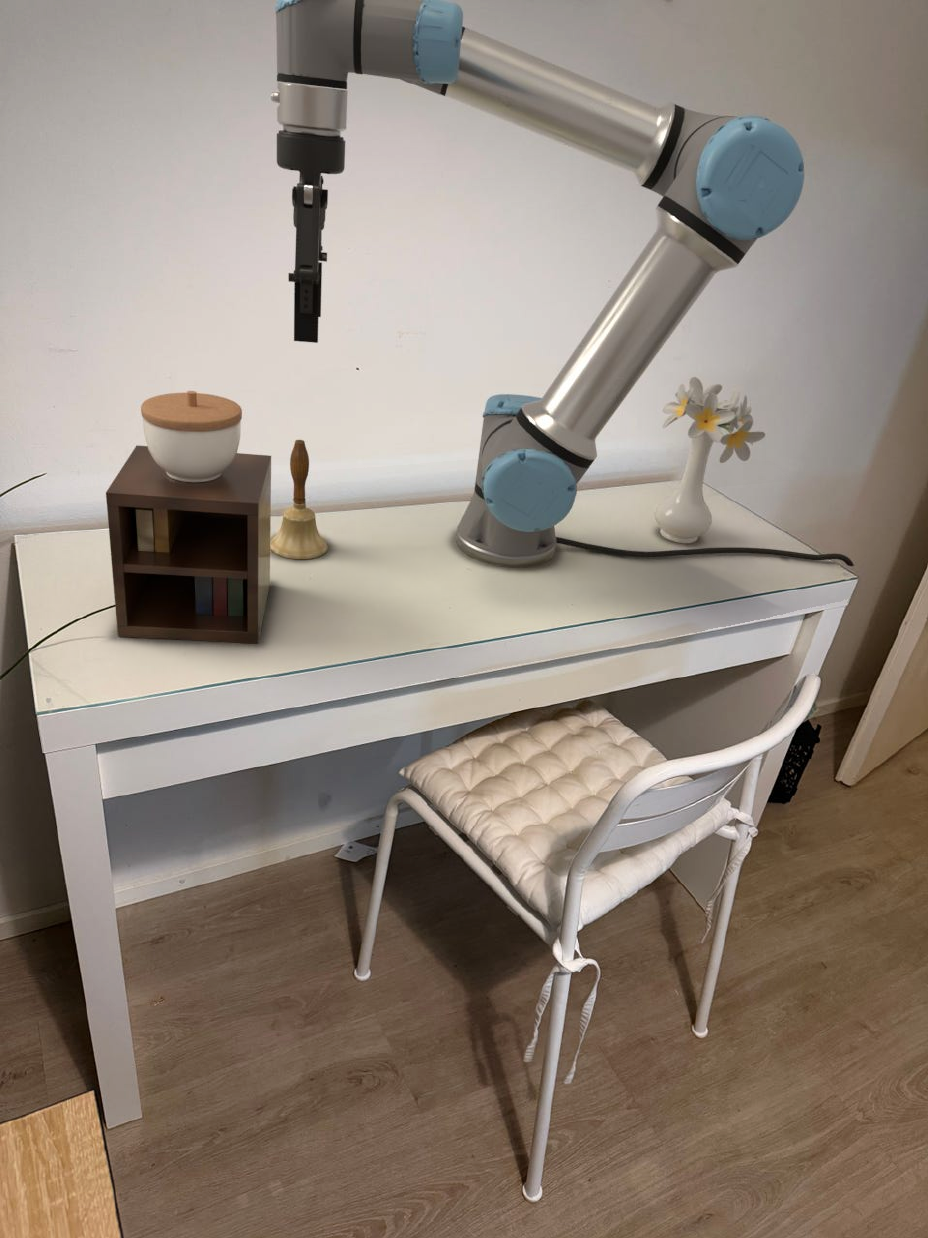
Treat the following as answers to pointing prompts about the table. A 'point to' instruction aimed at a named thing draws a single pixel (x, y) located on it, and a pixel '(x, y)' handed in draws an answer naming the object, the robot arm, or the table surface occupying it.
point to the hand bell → (299, 516)
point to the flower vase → (702, 455)
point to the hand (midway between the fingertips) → (308, 328)
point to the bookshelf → (190, 550)
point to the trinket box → (192, 434)
